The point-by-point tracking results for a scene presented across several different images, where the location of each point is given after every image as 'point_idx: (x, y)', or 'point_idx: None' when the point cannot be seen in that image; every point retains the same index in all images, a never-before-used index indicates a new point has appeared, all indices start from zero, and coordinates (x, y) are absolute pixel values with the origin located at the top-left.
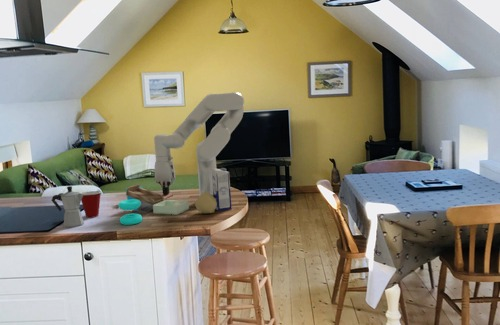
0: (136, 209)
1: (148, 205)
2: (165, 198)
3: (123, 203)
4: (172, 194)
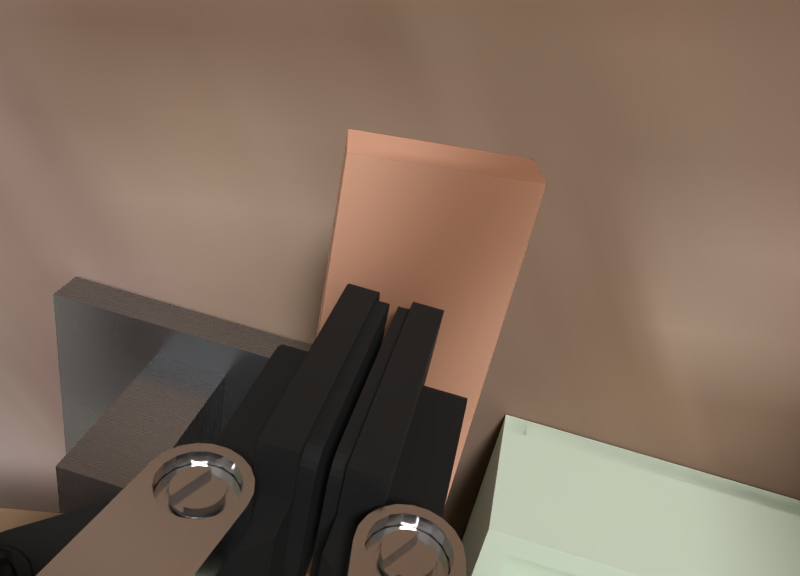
0: None
1: None
2: None
3: None
4: (535, 215)
